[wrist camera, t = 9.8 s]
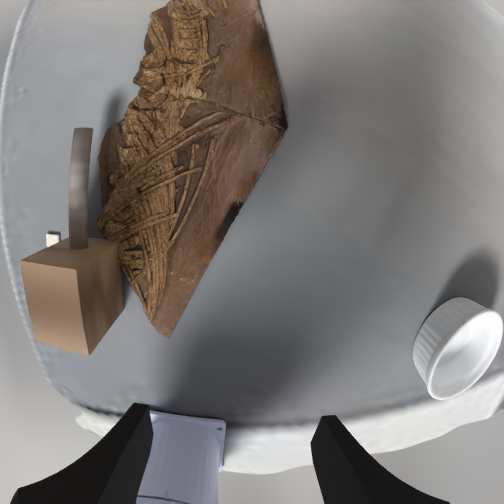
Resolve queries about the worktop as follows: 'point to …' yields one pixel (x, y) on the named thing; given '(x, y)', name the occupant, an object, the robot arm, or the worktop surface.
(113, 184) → the wooden fragment
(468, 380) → the ramekin
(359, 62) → the worktop surface
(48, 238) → the strip
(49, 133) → the worktop surface
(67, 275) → the mallet
